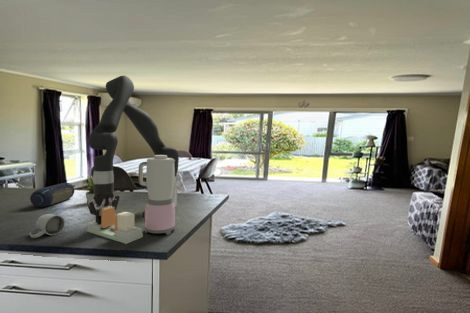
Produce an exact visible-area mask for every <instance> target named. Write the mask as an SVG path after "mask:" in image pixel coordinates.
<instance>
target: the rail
mask: <svg viewBox="0 0 470 313" xmlns="http://www.w3.org/2000/svg"><path fill="white" fill-rule="evenodd" d="M87 224H88V226H87V228H86V231H87V232H88V233H91V234H94V235H96V236H97V235H98V236H101V237H103V238H106V239H110V240H113V241H116V242H118V243H119V242H120V243H122V244H125V245H127V244H130V243H132V242H134V241H137V240H140V239H141V238H144V233H143V229H142V228H140V227H136V226H135V213H133V212H130V211H129V212H128V211H123V212H120V213H117V214H115V216H114V225H112V226H108V227H105V228H102V227H101V225H98V224H96V220H93V221H90V222H88V223H87Z"/></svg>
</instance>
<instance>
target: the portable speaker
mask: <svg viewBox="0 0 470 313" xmlns="http://www.w3.org/2000/svg"><path fill="white" fill-rule="evenodd" d="M75 192H76V191H75V186H74V185H73V184H72V183H69V182H62V183H57V184H54V185H50V186H46V187H42V188H38V189H36V190H35V191H33V193H31V195H30V196H29V200H30V202H31V204H32V205H33V206H35V207H36V208H46V207H49V206H51V205H52V206H53V205H55V204H58V203H61V202H63V201H64V202H65V201H67V200H69V199H71V198H72V197H73V196H74V194H75Z"/></svg>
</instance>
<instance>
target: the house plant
mask: <svg viewBox="0 0 470 313" xmlns="http://www.w3.org/2000/svg"><path fill="white" fill-rule="evenodd" d="M90 178H91V179H90ZM90 178H89V177H88V176H87V177H86V179H87V181H85V184H86V185H87V186H86V185H82V187H81V188H80V190H81V189H83V190H85V191H87V192H85V197H86V202H87V201H91V200H93V198H94V192H93V176H92V175H90ZM79 179H80V178H79ZM80 180H81V181H82V182H84V180H83V179H80ZM95 205H96V203H95Z"/></svg>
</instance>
